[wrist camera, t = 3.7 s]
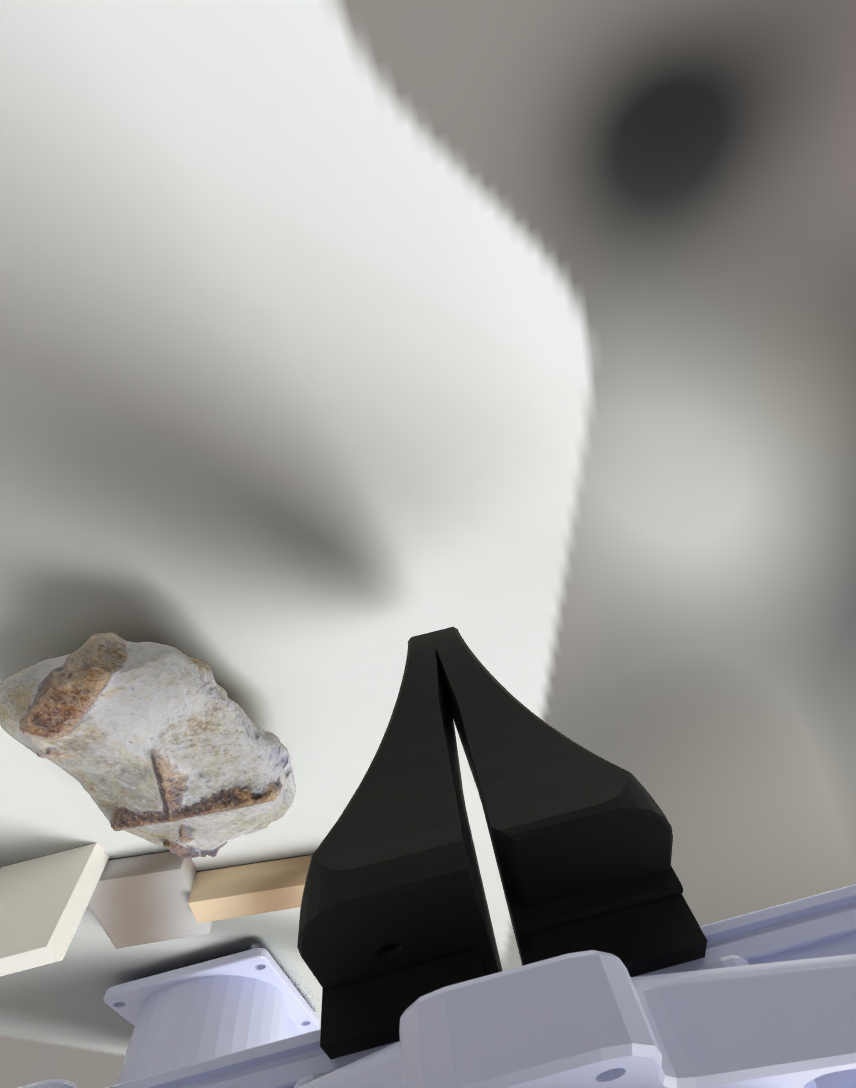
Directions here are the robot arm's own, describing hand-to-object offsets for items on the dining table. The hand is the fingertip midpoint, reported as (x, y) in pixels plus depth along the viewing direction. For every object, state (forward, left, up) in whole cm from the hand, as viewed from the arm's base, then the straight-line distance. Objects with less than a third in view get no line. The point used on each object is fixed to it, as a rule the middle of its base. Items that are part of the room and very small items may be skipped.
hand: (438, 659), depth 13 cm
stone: (+1, +7, -3) cm, 8 cm away
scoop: (-12, +11, -3) cm, 16 cm away
